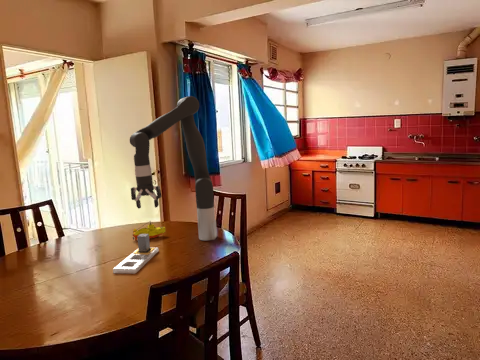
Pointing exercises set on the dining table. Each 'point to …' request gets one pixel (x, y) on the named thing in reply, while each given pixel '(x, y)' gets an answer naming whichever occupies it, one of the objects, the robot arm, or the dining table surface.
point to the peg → (143, 243)
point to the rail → (135, 261)
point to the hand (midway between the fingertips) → (147, 207)
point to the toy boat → (149, 231)
